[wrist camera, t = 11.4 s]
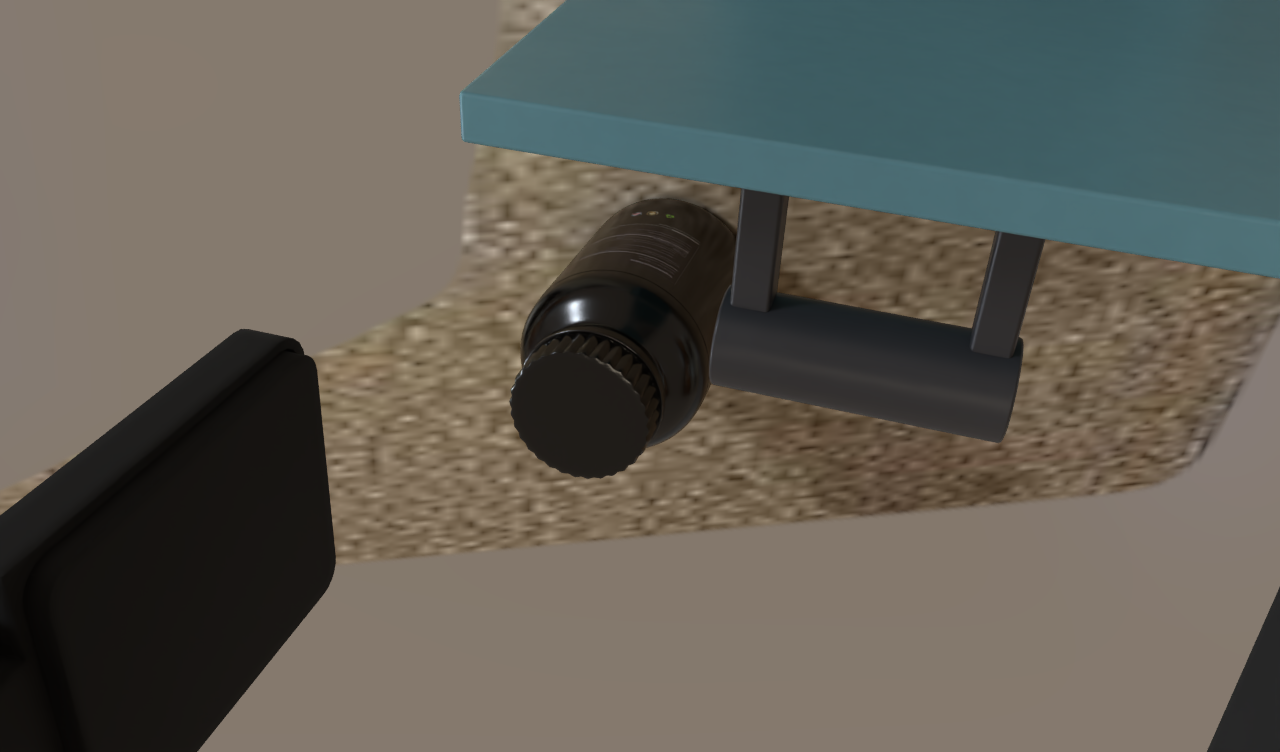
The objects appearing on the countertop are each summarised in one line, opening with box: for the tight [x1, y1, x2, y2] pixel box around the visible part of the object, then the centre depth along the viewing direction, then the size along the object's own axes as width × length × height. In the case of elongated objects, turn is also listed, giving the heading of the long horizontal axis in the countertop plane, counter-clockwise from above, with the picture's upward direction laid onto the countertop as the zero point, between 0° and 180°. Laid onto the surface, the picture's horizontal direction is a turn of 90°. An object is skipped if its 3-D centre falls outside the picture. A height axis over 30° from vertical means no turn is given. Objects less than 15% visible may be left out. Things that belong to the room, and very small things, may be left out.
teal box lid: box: [460, 0, 1280, 443], centre depth 24 cm, size 16×13×6 cm
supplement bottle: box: [510, 198, 736, 479], centre depth 42 cm, size 7×7×12 cm
